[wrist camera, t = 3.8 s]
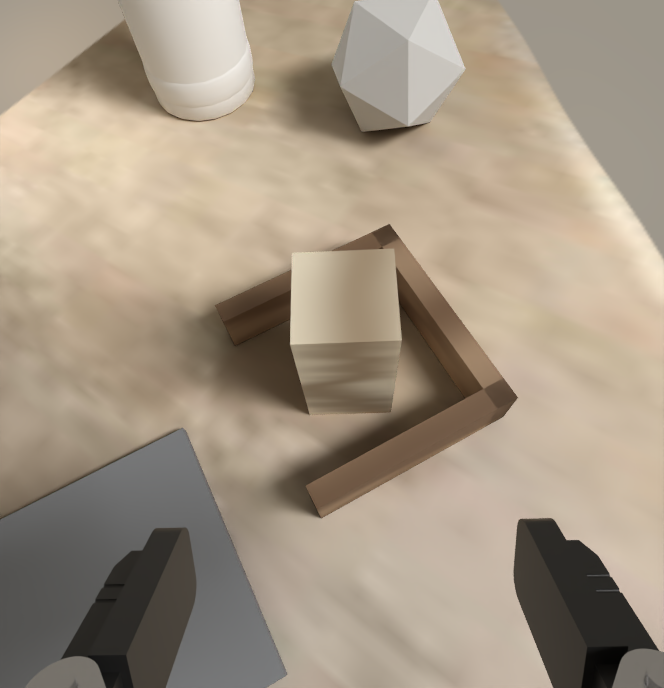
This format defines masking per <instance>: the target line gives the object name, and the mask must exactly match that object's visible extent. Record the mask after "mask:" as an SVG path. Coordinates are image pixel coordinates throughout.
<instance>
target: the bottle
mask: <svg viewBox="0 0 664 688" xmlns="http://www.w3.org/2000/svg"><path fill="white" fill-rule="evenodd" d="M118 3H119V5H120V7H121V10H122V13H123V15H124V18H125V20H126V23H127V25H128V27H129V30H130V32H131V35H132V37H133V40H134V42H135V45H136V47H137V50H138V52H139V55H140V57H141V59H142V62H143V66H144V70H145V73H146V76H147V78H148V81H149V83H150V85H151V87H152V89H153V90H154V92H155V94H156V96H157V99H158V101H159V103H160V104H161V106H162V107H163V108H164V109H165V110H166V111H167V112H168V113H170V114H172V115H174V116H176V117H179V118H181V119H188V120H195V121H203V120H210V119H216V118H219V117H222V116H224V115H227V114H229V113H232V112H233V111H234V110H236V109H237V108H238V107H240V106H241V105H242V104H244V103H245V102H246V100H247V99H248V97H249V96H250V95H251V93H252V92H253V88H254V82H255V77H254V72H253V67H252V66H253V61H252V55H251V50H250V46H249V43H248V40H247V37H246V32H245V27H244V23H243V18H242V13H241V8H240V3H239V0H118Z"/></svg>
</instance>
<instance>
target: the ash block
mask: <svg viewBox="0 0 664 688" xmlns="http://www.w3.org/2000/svg"><path fill="white" fill-rule="evenodd" d="M401 342H402V337H401V325H400V313H399V301H398V289H397V277H396V265H395V253H394V249H372V250H349V251H326V252H303V253H292V276H291V324H290V346H291V350H292V353H293V357H294V360H295V364H296V368H297V371H298V375H299V378H300V382H301V385H302V389H303V393H304V396H305V400H306V403H307V407H308V410H309V414H310V415H323V414H355V413H386V412H391V407H392V401H393V394H394V388H395V381H396V375H397V368H398V362H399V355H400V349H401Z"/></svg>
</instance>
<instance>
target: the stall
mask: <svg viewBox="0 0 664 688" xmlns="http://www.w3.org/2000/svg"><path fill="white" fill-rule="evenodd" d="M372 249H394V253H395V265H396V277H397V289H398V301H399V303H400V305H401V306H402V308H403V309H404V310H405V312H406V313H407V315H408V316H409V318H410V319H411V321H412V322H413V324H414V325H415V326H416V328H417V329H418V331H419V332H420V334H421V335H422V337H423V338H424V339H425V341H426V342H427V344H428V345H429V347H430V348H431V350H432V351H433V352H434V354H435V355H436V357H437V358H438V360H439V361H440V363H441V364H442V366H443V367H444V368H445V370H446V371H447V373H448V374H449V376H450V377H451V379H452V380H453V381H454V383H455V384H456V386H457V387H458V389H459V390H460V392H461V393H462V394H463V396H464V397H465V399H464V400H462V401H460V402H458V403H456V404H455V405H453V406H451V407H449V408H447V409H445V410H444V411H442V412H440V413H438V414H436V415H434V416H433V417H431V418H429V419H427V420H425V421H423V422H422V423H420V424H418V425H416V426H414V427H412V428H411V429H409V430H407V431H405V432H403V433H401V434H400V435H398V436H396V437H394V438H392V439H390V440H388V441H387V442H385V443H383V444H381V445H379V446H377V447H376V448H374V449H372V450H370V451H368V452H366V453H365V454H363V455H361V456H359V457H357V458H355V459H354V460H352V461H350V462H348V463H346V464H344V465H343V466H341V467H339V468H337V469H335V470H333V471H332V472H330V473H328V474H326V475H324V476H322V477H321V478H319V479H317V480H315V481H313V482H311V483H309V484H308V485H306V488H307V490H308V492H309V494H310V497H311V499H312V501H313V503H314V505H315V507H316V509H317V511H318V513H319V515H320V517H321V518H323V517H325V516H326V515H328V514H330V513H332V512H334V511H335V510H337V509H339V508H341V507H342V506H344V505H346V504H348V503H350V502H351V501H353V500H355V499H357V498H359V497H360V496H362V495H364V494H366V493H368V492H369V491H371V490H373V489H375V488H376V487H378V486H380V485H382V484H384V483H385V482H387V481H389V480H391V479H393V478H394V477H396V476H398V475H400V474H402V473H403V472H405V471H407V470H409V469H410V468H412V467H414V466H416V465H418V464H419V463H421V462H423V461H425V460H427V459H428V458H430V457H432V456H434V455H436V454H437V453H439V452H441V451H443V450H444V449H446V448H448V447H450V446H452V445H453V444H455V443H457V442H459V441H461V440H462V439H464V438H466V437H468V436H470V435H471V434H473V433H475V432H477V431H478V430H480V429H482V428H484V427H486V426H487V425H489V424H491V423H493V422H495V421H496V420H498V419H500V418H502V417H503V416H504V415H505V414H506V412H507V411H508V410H509V409H510V407H511V406H512V405H513V403H514V402H515V401H516V399H517V398H518V397H517V396H516V394H515V393H514V392H513V390H512V389H511V388H510V386H509V385H508V384H507V382H506V381H505V380H504V378H503V377H502V375H501V374H500V373H499V371H498V370H497V369H496V367H495V366H494V365H493V363H492V362H491V361H490V359H489V358H488V357H487V355H486V354H485V353H484V351H483V350H482V348H481V347H480V346H479V344H478V343H477V342H476V340H475V339H474V338H473V336H472V335H471V334H470V332H469V331H468V330H467V328H466V327H465V325H464V324H463V323H462V321H461V320H460V319H459V317H458V316H457V315H456V313H455V312H454V311H453V309H452V308H451V307H450V305H449V304H448V303H447V301H446V300H445V298H444V297H443V296H442V294H441V293H440V292H439V290H438V289H437V288H436V286H435V285H434V284H433V282H432V281H431V280H430V278H429V277H428V276H427V274H426V273H425V271H424V270H423V269H422V267H421V266H420V265H419V263H418V262H417V261H416V259H415V258H414V257H413V255H412V254H411V253H410V251H409V250H408V248H407V247H406V246H405V244H404V243H403V242H402V240H401V239H400V238H399V236H398V235H397V234H396V232H395V231H394V230H393V228H392V227H391V226H390V224H389V225H386V226H384V227H382V228H380V229H378V230H376V231H374V232H371V233H369V234H367V235H365V236H363V237H361V238H359V239H356V240H354V241H352V242H350V243H348V244H346V245H344V246H341V247H339V248H337V249H335V250H333V251H349V250H372ZM291 276H292V270H290V271H288V272H286V273H283V274H281V275H279V276H277V277H275V278H273V279H271V280H268V281H266V282H264V283H262V284H260V285H258V286H256V287H253V288H251V289H249V290H247V291H245V292H243V293H241V294H238V295H236V296H234V297H232V298H230V299H228V300H226V301H223V302H221V303H219V304H217V305H215V306H216V308H217V310H218V312H219V315H220V317H221V319H222V321H223V323H224V325H225V327H226V329H227V331H228V333H229V335H230V337H231V339H232V341H233V343H234V345H235V346H236V345H238V344H240V343H242V342H244V341H246V340H248V339H250V338H252V337H254V336H257V335H259V334H261V333H263V332H265V331H267V330H269V329H271V328H273V327H275V326H277V325H279V324H281V323H283V322H286V321H288V320H290V319H291Z"/></svg>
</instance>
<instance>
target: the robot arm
mask: <svg viewBox="0 0 664 688" xmlns="http://www.w3.org/2000/svg"><path fill="white" fill-rule="evenodd" d="M514 583H515V589H516V594H517V597H518V600H519V603H520V605H521V608H522V610H523V613H524V615H525V618H526V620H527V623H528V625H529V628H530V630H531V633H532V635H533V638H534V640H535V643H536V645H537V648H538V650H539V653H540V655H541V658H542V660H543V663H544V665H545V668H546V670H547V673H548V676H549V678H550V681H551V683H552V686H553V688H664V652H661V651H659V650H658V648H657V647H656V645H655V644H654V642H653V640H652V639H651V637H650V636H649V634H648V633H647V631H646V630H645V628H644V627H643V625H642V623H641V622H640V620H639V619H638V617H637V616H636V614H635V613H634V611H633V609H632V608H631V606H630V605H629V603H628V602H627V600H626V599H625V597H624V595H623V594H622V593H620V591H619V588H618V586H617V585H616V583H615V582H614V580H613V578H612V577H610V575H609V572H608V571H607V569H606V568H605V566H604V564H603V563H602V561H601V560H600V558H599V557H598V555H596V554H595V553H594V552H593V551H591V550H590V549H589V548H588V547H587V546H585V545H584V544H583V543H582V542H580V541H579V540H566V539H565V537H564V535H563V534H562V532H561V530H560V529H559V527H558V525H557V524H556V522H555V521H554V520H553V519H552V518H539V519H520V520H519V521H518V525H517V536H516V548H515V560H514ZM196 586H197V582H196V573H195V566H194V560H193V554H192V548H191V541H190V535H189V531H188V529H187V528H186V527H183V528H155V529H154V530H153V531H152V533H151V535H150V537H149V539H148V541H147V543H146V545H145V546H144V548H143V550H139V551H130V552H129V553H128V554H127V555H126V556H125V557H124V558H123V559H122V560H121V561H119V562H118V563H117V564H116V565H115V566H114V567H113V569H112V571H111V573H110V574H109V576H108V578H107V580H106V581H105V583H104V587H103V588H101V590H100V592H99V593H98V595H97V597H96V599H95V603H93V604H92V606H91V607H90V609H89V611H88V613H87V614H86V616H85V618H84V620H83V621H82V623H81V625H80V627H79V628H78V630H77V632H76V634H75V635H74V637H73V639H72V641H71V642H70V644H69V646H68V648H67V649H66V651H65V653H64V655H63V656H62V658H61V660H59V661H57V662H54V663H52V664H51V665H49V666H47V667H46V668H44V669H43V670H41V671H40V672H39V673H38V674H37V675H35V676H34V677H33V678H32V679H31V680H30V682H29V683H28V684H27V685H26V687H25V688H166V685H167V682H168V679H169V676H170V674H171V671H172V668H173V665H174V662H175V659H176V656H177V653H178V650H179V647H180V644H181V641H182V638H183V635H184V633H185V630H186V627H187V624H188V621H189V618H190V615H191V612H192V609H193V606H194V602H195V597H196Z"/></svg>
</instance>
